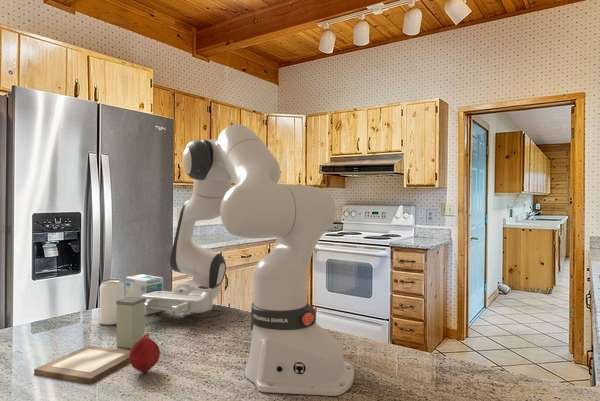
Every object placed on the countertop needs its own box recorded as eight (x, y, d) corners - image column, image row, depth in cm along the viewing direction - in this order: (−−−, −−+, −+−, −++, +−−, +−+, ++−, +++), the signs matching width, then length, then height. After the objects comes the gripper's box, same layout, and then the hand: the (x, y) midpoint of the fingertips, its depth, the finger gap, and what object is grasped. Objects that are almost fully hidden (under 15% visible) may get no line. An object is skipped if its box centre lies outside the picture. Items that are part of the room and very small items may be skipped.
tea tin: (145, 342, 101) (145, 297, 101) (132, 348, 96) (132, 302, 96) (129, 339, 102) (129, 296, 102) (115, 346, 98) (116, 300, 97)
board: (138, 356, 91) (138, 351, 91) (90, 383, 78) (90, 378, 78) (88, 349, 95) (88, 344, 95) (34, 374, 82) (34, 368, 82)
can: (114, 326, 113) (115, 283, 113) (94, 324, 114) (94, 282, 114) (128, 319, 119) (129, 278, 119) (109, 318, 120) (109, 277, 120)
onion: (141, 381, 79) (141, 340, 79) (123, 374, 82) (123, 335, 82) (165, 371, 84) (165, 332, 84) (147, 364, 87) (147, 327, 87)
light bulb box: (164, 310, 129) (164, 277, 128) (146, 316, 123) (146, 280, 123) (142, 305, 134) (143, 273, 134) (124, 310, 129) (124, 276, 129)
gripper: (157, 284, 126) (126, 294, 112) (216, 288, 120) (191, 299, 107) (157, 304, 126) (126, 316, 113) (216, 309, 120) (191, 323, 107)
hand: (158, 308), depth 110 cm, fingers open, 8 cm apart
